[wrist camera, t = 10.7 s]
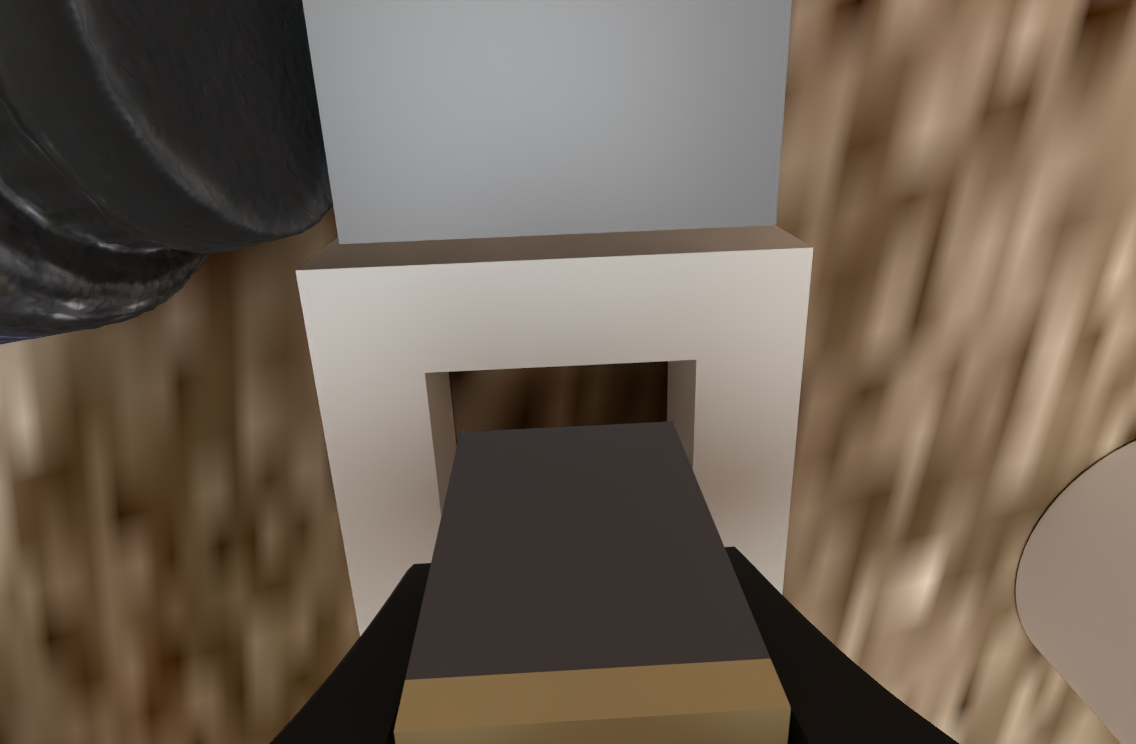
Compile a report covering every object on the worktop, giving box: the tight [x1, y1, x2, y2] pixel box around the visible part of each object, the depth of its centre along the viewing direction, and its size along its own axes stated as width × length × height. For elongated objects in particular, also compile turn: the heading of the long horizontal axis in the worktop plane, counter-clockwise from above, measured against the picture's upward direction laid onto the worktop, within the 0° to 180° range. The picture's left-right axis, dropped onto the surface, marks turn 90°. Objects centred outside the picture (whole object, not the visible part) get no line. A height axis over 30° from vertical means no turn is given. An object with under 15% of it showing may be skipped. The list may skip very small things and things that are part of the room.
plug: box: [394, 421, 791, 744], centre depth 10 cm, size 4×4×6 cm
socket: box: [295, 225, 813, 636], centre depth 16 cm, size 9×9×3 cm
